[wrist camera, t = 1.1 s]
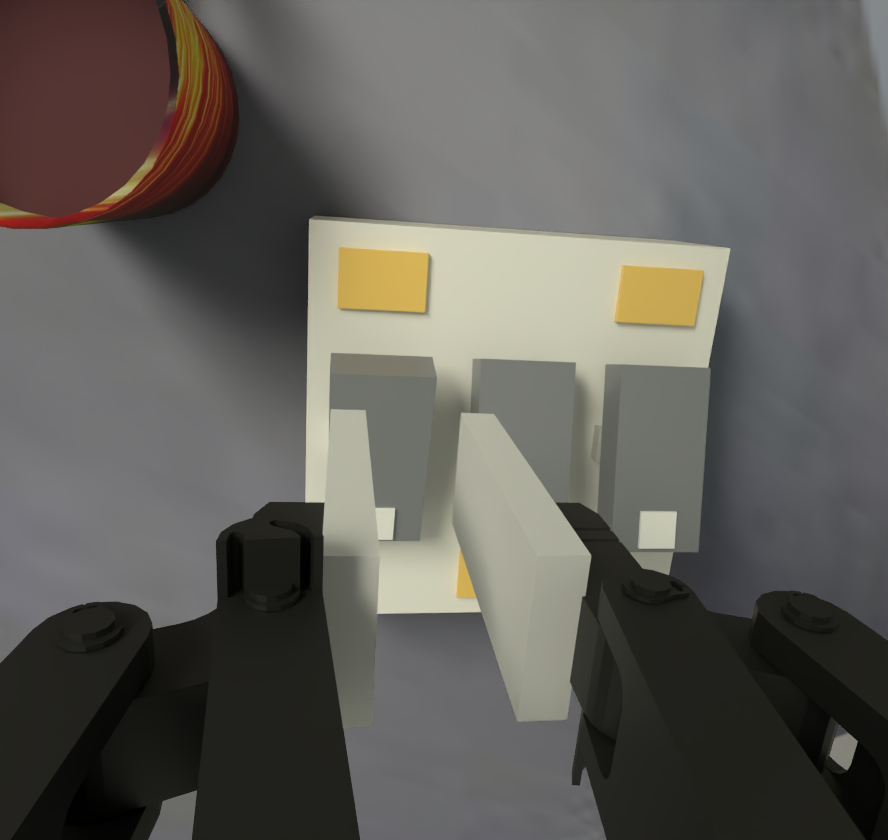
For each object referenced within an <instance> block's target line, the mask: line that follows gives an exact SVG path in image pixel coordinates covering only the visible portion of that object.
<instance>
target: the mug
mask: <svg viewBox="0 0 888 840" xmlns="http://www.w3.org/2000/svg"><path fill="white" fill-rule="evenodd" d="M238 124H239V111H238V98H237V93H236V89H235V85H234V81H233V78H232V74H231V71H230V69H229V67H228V65H227V63H226V60H225V58H224V56H223V54H222V52H221V50H220V49H219V47H218V46H217V44H216V43H215V41H214V40H213V38H212V37H211V35H210V34H209V32H208V31H207V30H206V28H205V27H204V26H203V25H202V24H201V22H200V21H199V20H198V19H197V18H196V16H195V15H194V14H193V13H192V12H191V10H190V9H189V8H188V7H187V6H186V4H185V3H184V2H183V1H182V0H0V226H1V227H6V228H11V229H48V228H58V227H67V226H77V225H86V224H95V223H105V222H114V221H124V220H133V219H142V218H151V217H156V216H161V215H167V214H171V213H174V212H176V211H178V210H181V209H183V208H185V207H188V206H190V205H191V204H193V203H194V202H196V201H197V200H198V199H200V198H201V197H203V196H204V195H205V194H207V193H208V191H209V190H210V189H211V188H212V187H213V186H214V185H215V184H216V183H217V181H218V180H219V179H220V178H221V176H222V174H223V172H224V171H225V169H226V167H227V165H228V164H229V162H230V160H231V157H232V153H233V150H234V147H235V144H236V141H237V133H238Z"/></svg>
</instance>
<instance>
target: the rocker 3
mask: <svg viewBox="0 0 888 840" xmlns="http://www.w3.org/2000/svg"><path fill="white" fill-rule="evenodd" d="M710 375H711V368H699V367H675V366H650V365H626V364H606V366H605V384H604V402H603V419H602V437H601V455H600V473H599V491H598V508H597V513H598V514H599V515H600V516H601V517H602V518H603V520H604V521H605V522H606V523H607V525H608V526H609V527H610V531H613V532H614V533H615V535H616V536H617V537H618V538H619V542H622V543H623V545H624V546H625V547H626V548H627V550H628V551H629V552H698V551H699V537H700V522H701V507H702V492H703V478H704V463H705V448H706V434H707V419H708V404H709V389H710Z"/></svg>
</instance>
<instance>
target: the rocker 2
mask: <svg viewBox="0 0 888 840" xmlns="http://www.w3.org/2000/svg"><path fill="white" fill-rule="evenodd" d="M575 371H576V362H552V361H527V360H503V359H473V364H472V388H471V412H470V413H482V414H494V415H495V416H496V418H497V419H498V420H499V422H500V423H501V425H502V426H503V428H504V429H505V431H506V432H507V434H508V435H509V436H510V438H511V439H512V441H513V442H514V444H515V445H516V447H517V448H518V449H519V451H520V452H521V454H522V455H523V457H524V458H525V460H526V461H527V463H528V464H529V465H530V467H531V468H532V470H533V471H534V473H535V474H536V476H537V477H538V479H539V480H540V481H541V483H542V484H543V486H544V487H545V489H546V490H547V492H548V493H549V495H550V496H551V497H552V499H553V500H554V502H560V503H569V484H570V465H571V446H572V427H573V408H574V390H575Z"/></svg>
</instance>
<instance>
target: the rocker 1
mask: <svg viewBox="0 0 888 840" xmlns="http://www.w3.org/2000/svg"><path fill="white" fill-rule="evenodd" d="M436 383H437V375H436V371H435V366H434V362H433V358H432V357H423V356H399V355H374V354H350V353H331V361H330V390H329V429H330V413H331V409H342V410H366V419H367V429H368V439H369V449H370V460H371V470H372V480H373V490H374V500H375V510H376V521H377V531H378V541H420V534H421V525H422V515H423V506H424V496H425V487H426V478H427V468H428V459H429V449H430V440H431V430H432V421H433V411H434V402H435V393H436ZM328 444H329V443H328Z"/></svg>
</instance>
